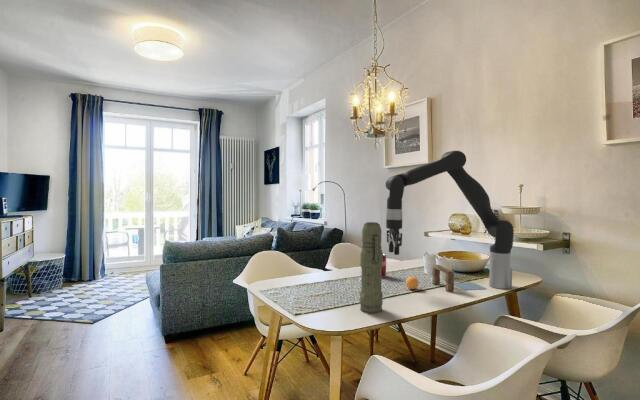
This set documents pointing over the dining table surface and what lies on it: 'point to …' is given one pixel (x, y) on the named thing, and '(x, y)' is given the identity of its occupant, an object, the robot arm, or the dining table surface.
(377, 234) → the thermos
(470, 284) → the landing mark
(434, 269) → the bridge
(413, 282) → the ball
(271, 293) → the dining table surface
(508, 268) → the robot arm
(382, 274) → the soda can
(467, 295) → the dining table surface
